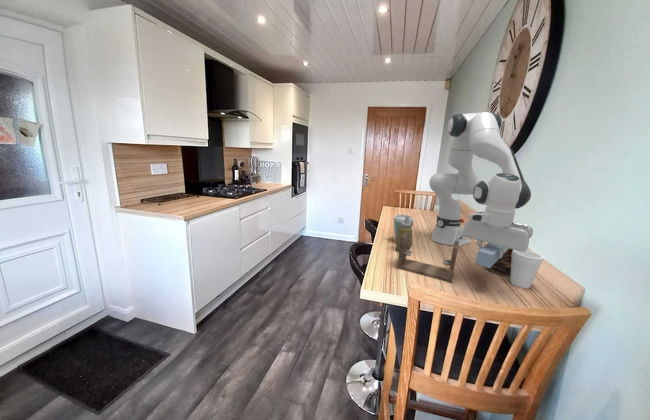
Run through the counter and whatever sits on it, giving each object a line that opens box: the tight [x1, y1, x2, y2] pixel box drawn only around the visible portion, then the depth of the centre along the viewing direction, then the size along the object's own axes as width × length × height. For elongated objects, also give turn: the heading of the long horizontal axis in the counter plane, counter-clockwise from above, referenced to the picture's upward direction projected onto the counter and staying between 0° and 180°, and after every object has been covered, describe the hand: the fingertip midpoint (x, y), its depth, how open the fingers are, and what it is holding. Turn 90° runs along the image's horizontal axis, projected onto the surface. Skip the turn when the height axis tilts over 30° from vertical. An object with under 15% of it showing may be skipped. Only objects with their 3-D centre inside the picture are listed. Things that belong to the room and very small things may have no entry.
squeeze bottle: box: [395, 215, 414, 252], centre depth 125 cm, size 8×8×18 cm
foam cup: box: [509, 249, 544, 289], centre depth 98 cm, size 10×9×13 cm
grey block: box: [475, 243, 503, 268], centre depth 93 cm, size 16×4×5 cm, turn 133°
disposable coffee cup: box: [393, 214, 415, 242], centre depth 137 cm, size 11×11×15 cm
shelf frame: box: [396, 231, 459, 284], centre depth 105 cm, size 21×10×14 cm, turn 60°
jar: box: [484, 248, 513, 277], centre depth 109 cm, size 12×12×15 cm
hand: (489, 254), depth 94 cm, fingers closed on grey block, 4 cm apart
